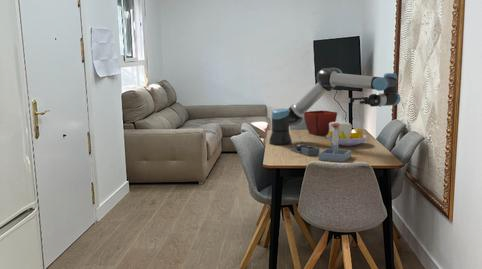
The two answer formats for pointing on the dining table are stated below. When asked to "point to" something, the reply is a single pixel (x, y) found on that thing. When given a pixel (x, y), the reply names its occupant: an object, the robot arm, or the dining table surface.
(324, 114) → the plant pot
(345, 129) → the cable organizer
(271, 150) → the dining table surface
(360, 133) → the fruit bowl
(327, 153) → the tray
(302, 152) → the bracket
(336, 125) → the lock pin
